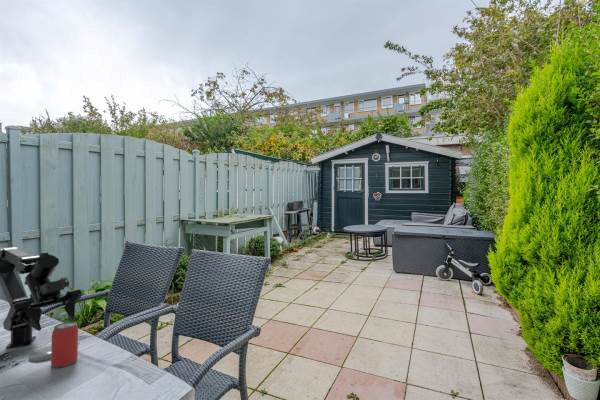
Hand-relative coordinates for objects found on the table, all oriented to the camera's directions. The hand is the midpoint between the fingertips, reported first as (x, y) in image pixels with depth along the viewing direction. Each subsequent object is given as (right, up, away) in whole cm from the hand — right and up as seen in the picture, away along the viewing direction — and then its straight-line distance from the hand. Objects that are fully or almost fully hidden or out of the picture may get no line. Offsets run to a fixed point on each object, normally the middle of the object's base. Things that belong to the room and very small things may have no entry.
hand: (57, 324), depth 96 cm
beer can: (+4, -11, -2) cm, 12 cm away
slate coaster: (-5, -11, +3) cm, 13 cm away
